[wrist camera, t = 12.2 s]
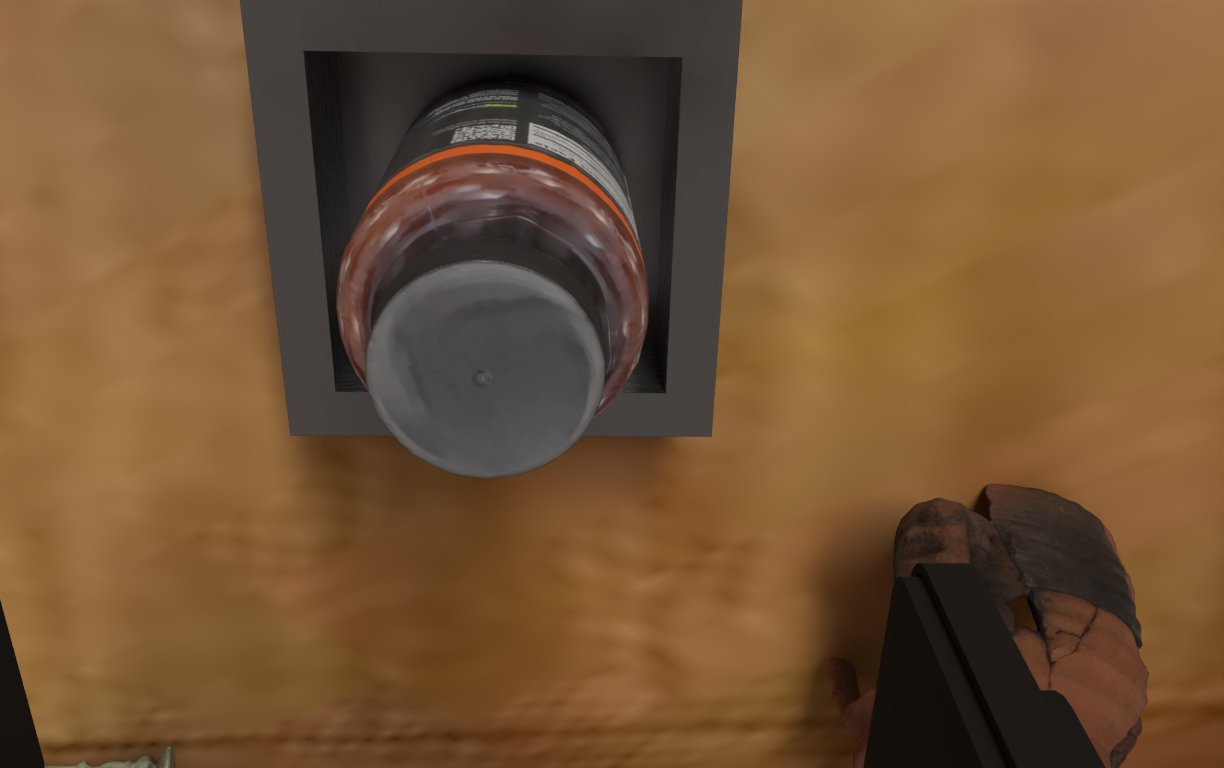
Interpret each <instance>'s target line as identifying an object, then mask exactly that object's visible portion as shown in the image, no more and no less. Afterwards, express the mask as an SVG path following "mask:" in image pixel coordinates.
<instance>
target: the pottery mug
mask: <svg viewBox="0 0 1224 768" xmlns="http://www.w3.org/2000/svg"><path fill="white" fill-rule="evenodd" d="M984 497H985V501H986V503H987V505H988V512H987V514H988V520H987V519H986V518H984V517H983V516H981V515H980V514H977V513H975V512H973V511H970V510H967V508H966V507H965V506H964V505H963V504H961V503H958V502H953V501H949V500H946V499H942V498H935V499H932V500H930V501H926V502H922V503H918V504H916V505H915V506H913V508H912V509H911V510H910V511H909V512H908V513H907V514H906V515H905V516H904V517H903V518H902V519H901V521H900V523H899V526H898V528H897V531H896V536H895V541H894V562H893V567H894V581H895V580H896V578H897V577H899V576H909V577H910V576H911V572H912V570H913V568H914V566H915V565H916V564H917V563H970V564H972V565H973V566H974V567H975V568H976V570H977V571H978V573H979V575H980V577H981V579H982V580H983V582H984V584H985V586H986V588H987V590H988V592H989V594H990V596H991V597H992V599H993V601H994V603H995V605H996V607H997V609H998V611H999V612H1000V614H1001V616H1002V618H1003V620H1004V622H1005V624H1006V626H1007V628H1008V629H1009V631H1010V633H1011V635H1012V637H1013V639H1014V641H1015V643H1016V645H1017V646H1018V648H1019V650H1020V652H1021V654H1022V656H1023V658H1024V660H1025V662H1026V663H1027V665H1028V667H1029V669H1030V671H1031V673H1032V675H1033V677H1034V679H1035V680H1036V682H1037V684H1038V686H1039V688H1040V690H1055V691H1057V692H1059V693H1060V694H1062V695H1064V697H1065V698H1066V700H1067V701H1068V702H1069V704H1070V705H1071V706H1072V708H1073V710H1074V712H1075V713H1076V715H1077V717H1078V719H1079V721H1080V722H1081V724H1082V726H1083V728H1084V730H1085V731H1086V733H1087V735H1088V737H1089V739H1090V740H1091V742H1092V744H1093V746H1094V748H1095V749H1096V751H1097V753H1098V755H1099V757H1100V758H1101V760H1102V762H1103V764H1104V766H1105V767H1106V768H1118V767H1119V766H1120V765H1121V764H1122V762H1123V761H1124V760H1125V759H1126V757H1127V755H1128V754H1129V752H1130V751H1131V750H1132V749H1133V747H1134V745H1135V743H1136V740H1137V737H1138V736H1139V735H1140V733H1141V730H1142V724H1141V719H1140V717H1139V716H1140V713H1141V711H1142V710H1143V708H1144V707H1145V706H1146V704H1147V702H1148V700H1147V694H1146V687H1147V681H1148V676H1149V673H1148V671H1147V668H1146V666H1145V665H1144V663H1143V661H1142V659H1141V657H1140V653H1139V648H1141V647H1142V641H1141V626H1140V623H1139V621H1138V620H1137V618H1136V612H1135V611H1136V608H1135V603H1134V602H1135V591H1134V588H1133V585H1132V582H1131V579H1130V576H1129V575H1128V574H1127V572H1126V570H1125V568H1124V566H1123V564H1122V562H1121V560H1120V558H1119V555H1118V553H1117V549H1116V545H1115V542H1114V539H1113V537H1112V535H1111V534H1110V532H1109V531H1108V529H1107V528H1106V527H1105V526H1104V525H1103V524H1102V522H1101V521H1100V520H1099V519H1098V518H1097V517H1096V516H1094V515H1093V514H1092V513H1090V512H1088V511H1087V510H1085V509H1084V508H1083V507H1082V506H1080V505H1079V504H1077V503H1075V502H1072V501H1069V500H1067V499H1064V498H1062V497H1060V496H1058V495H1056V494H1054V493H1050V492H1046V491H1044V490H1041V489H1035V488H1024V487H1020V486H1012V485H1000V484H998V485H995V484H990V485H988V486H986V487H985V490H984ZM1021 597H1025V598H1026V599H1027V601H1028V605H1029V607H1030V609H1031V611H1032V614H1033V618H1034V620H1035V622H1036V625H1037V631H1032V630H1031V629H1028V628H1025V627H1016V628H1015V627H1014V616H1013V613H1012V611H1011V610H1010V608H1009V607H1008V606H1007V605H1009V604H1011V603H1012V602H1014V601H1015V600H1018V599H1020V598H1021ZM829 662H830V672H829V680H830V682H831V684H832V697H833V699H834V702H835V703H836V704H837V707H838V709H839V712H840V715H841V716H842V718H843V720H844V722H845V724H846V726H847V728H848V730H849V731H850V732H851V733H852V734H853V735H854V736H855V737H856V739H857V747H856V749H855V752H854V755H853V765H854V766H855V767H856V768H863V767H864V759H865V753H866V747H867V741H868V735H869V729H870V723H871V717H872V711H873V705H874V699H875V693H876V687H877V685H875V686H874V687H872V688H870V689H868V690H866V691H865V692H864V693H863V694H862V696H861V697H860V693H859V687H858V682H857V676H856V672H855V670H854V668H853V667H852V665H850V664H848V663H847V662H846V661H844V660H842V659H840V658H838V657H831V658H830V661H829Z"/></svg>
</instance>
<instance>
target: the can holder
mask: <svg viewBox="0 0 1224 768" xmlns="http://www.w3.org/2000/svg"><path fill="white" fill-rule="evenodd" d="M742 1H743V0H240V6H241V15H242V23H243V32H244V41H245V49H246V58H247V66H248V75H249V84H250V92H251V101H252V110H253V118H254V127H255V135H256V144H257V153H258V161H259V170H260V178H261V187H262V196H263V204H264V213H265V222H266V230H267V239H268V247H269V256H270V265H271V273H272V282H273V291H274V299H275V308H276V316H277V325H278V334H279V342H280V351H281V359H282V368H283V377H284V385H285V394H286V403H287V411H288V420H289V428H290V436H392V435H391V433H390V432H389V431H388V430H387V429H386V427H385V426H384V424H383V423H382V421H381V419H380V418H379V417H378V415H377V413H376V410H375V408H374V406H373V404H372V402H371V399H370V396H369V393H368V390H367V389H366V387H365V385H364V384H363V383H362V381H361V380H360V378H359V377H358V376H357V374H356V372H355V370H354V368H353V366H352V364H351V362H350V360H349V357H348V355H347V353H346V350H345V347H344V344H343V342H342V339H341V335H340V329H339V324H338V317H337V310H336V297H337V283H338V276H339V270H340V265H341V262H342V259H343V255H344V252H345V249H346V246H347V244H348V243H349V241H350V239H351V236H352V234H353V232H354V231H355V229H356V227H357V225H358V222H359V221H360V219H361V217H362V215H363V213H364V211H365V210H366V207H367V206H368V204H369V202H370V200H371V198H372V196H373V194H374V192H375V190H376V188H377V187H378V185H379V183H380V181H381V179H382V177H383V175H384V173H385V171H386V170H387V168H388V166H389V163H390V161H391V160H392V158H393V156H394V154H395V152H396V150H397V149H398V146H399V145H400V143H401V141H402V139H403V137H404V136H405V134H406V132H407V130H408V129H409V127H410V126H411V124H412V123H413V121H414V120H415V119H416V118H417V117H418V116H419V115H420V114H421V113H422V112H423V111H424V110H425V109H426V108H427V107H428V106H429V105H430V104H431V103H432V102H434V101H435V100H436V99H437V98H439V97H440V96H441V95H443V94H445V93H447V92H449V91H451V90H453V89H455V88H457V87H459V86H461V85H465V84H468V83H471V82H474V81H477V80H482V79H489V78H501V77H510V78H522V79H527V80H533V81H539V82H542V83H545V84H547V85H549V86H552V87H554V88H557V89H559V90H560V91H562V92H564V93H566V94H568V95H569V96H570V97H572V98H573V99H575V100H576V101H578V102H579V103H581V104H582V105H583V106H584V107H585V108H587V109H588V110H589V111H590V112H591V113H592V114H593V116H594V117H595V118H596V119H597V120H598V121H599V122H600V124H601V125H602V127H603V128H604V129H605V131H606V132H607V133H608V135H609V137H610V138H611V140H612V142H613V144H614V146H615V148H616V150H617V152H618V155H619V159H620V161H621V164H622V167H623V171H624V176H625V178H626V183H627V188H628V193H629V197H630V202H631V207H632V211H633V216H634V220H635V225H636V229H637V234H638V239H639V243H640V248H641V252H642V255H643V262H644V268H645V273H646V279H647V286H648V325H647V331H646V335H645V340H644V343H643V346H642V350H641V354H640V357H639V360H638V363H637V365H636V367H635V369H634V371H633V373H632V376H631V378H630V379H629V380H628V381H627V383H626V385H625V387H624V389H623V390H622V391H621V393H620V394H619V395H618V396H617V397H616V398H615V400H614V401H613V402H612V403H611V405H610V406H609V407H607V408H606V409H605V410H604V411H603V412H602V413H601V414H600V415H598V416H597V417H596V418H595V419H594V420H592V421H591V423H590V425H589V426H588V428H587V430H586V431H585V432H584V434H583V435H582V436H644V437H712V424H713V410H714V395H715V381H716V367H717V353H718V339H719V325H720V311H721V297H722V283H723V269H724V255H725V240H726V226H727V212H728V198H729V184H730V170H731V156H732V142H733V128H734V114H735V100H736V85H737V71H738V57H739V43H740V29H741V15H742Z"/></svg>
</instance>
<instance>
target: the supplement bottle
mask: <svg viewBox="0 0 1224 768" xmlns="http://www.w3.org/2000/svg"><path fill="white" fill-rule="evenodd" d="M336 310H337V317H338V324H339V329H340V335H341V339H342V342H343V344H344V347H345V350H346V353H347V355H348V357H349V360H350V362H351V364H352V366H353V368H354V370H355V372H356V374H357V376H358V377H359V378H360V380H361V381H362V383H363V384H364V385H365V387H366V389H367V390H368V393H369V396H370V399H371V402H372V404H373V406H374V408H375V410H376V413H377V415H378V417H379V418H380V419H381V421H382V423H383V424H384V426H385V427H386V429H387V430H388V431H389V432H390V433H391V435H392V436H393V437H394V438H395V439H396V440H397V441H398V442H399V443H400V445H402V446H403V447H405V448H406V449H407V450H408V451H409V452H410V453H412V454H413V455H415V456H416V457H418V458H420V459H421V460H423V461H425V462H426V463H428V464H430V465H432V466H434V467H436V468H440V469H443V470H445V471H447V472H450V473H452V474H455V475H461V476H466V477H479V478H492V479H493V478H499V477H508V476H514V475H519V474H523V473H526V472H529V471H532V470H535V469H538V468H540V467H542V466H544V465H546V464H548V463H550V462H551V461H553V460H554V459H556V458H557V457H559V456H560V455H562V454H563V453H564V452H566V451H567V450H568V449H569V448H571V447H572V446H573V445H574V444H575V443H576V442H577V441H578V440H579V438H580V437H581V436H582V435H583V434H584V432H585V431H586V430H587V428H588V426H589V425H590V423H591V421H592V420H594V419H595V418H596V417H597V416H598V415H600V414H601V413H602V412H603V411H604V410H605V409H606V408H607V407H609V406H610V405H611V403H612V402H613V401H614V400H615V398H616V397H617V396H618V395H619V394H620V393H621V391H622V390H623V389H624V387H625V385H626V383H627V381H628V380H629V379H630V378H631V376H632V373H633V371H634V369H635V367H636V365H637V363H638V360H639V357H640V354H641V350H642V346H643V343H644V340H645V335H646V331H647V325H648V286H647V279H646V273H645V268H644V262H643V255H642V252H641V248H640V243H639V239H638V234H637V229H636V225H635V220H634V216H633V211H632V207H631V202H630V197H629V193H628V188H627V183H626V178H625V176H624V171H623V167H622V164H621V161H620V159H619V155H618V152H617V150H616V148H615V146H614V144H613V142H612V140H611V138H610V137H609V135H608V133H607V132H606V131H605V129H604V128H603V127H602V125H601V124H600V122H599V121H598V120H597V119H596V118H595V117H594V116H593V114H592V113H591V112H590V111H589V110H588V109H587V108H585V107H584V106H583V105H582V104H581V103H579V102H578V101H576V100H575V99H573V98H572V97H570V96H569V95H568V94H566V93H564V92H562V91H560V90H559V89H557V88H554V87H552V86H549V85H547V84H545V83H542V82H539V81H533V80H527V79H522V78H510V77H501V78H489V79H482V80H477V81H474V82H471V83H468V84H465V85H461V86H459V87H457V88H455V89H453V90H451V91H449V92H447V93H445V94H443V95H441V96H440V97H439V98H437V99H436V100H435V101H434V102H432V103H431V104H430V105H429V106H428V107H427V108H426V109H425V110H424V111H423V112H422V113H421V114H420V115H419V116H418V117H417V118H416V119H415V120H414V121H413V123H412V124H411V126H410V127H409V129H408V130H407V132H406V134H405V136H404V137H403V139H402V141H401V143H400V145H399V146H398V149H397V150H396V152H395V154H394V156H393V158H392V160H391V161H390V163H389V166H388V168H387V170H386V171H385V173H384V175H383V177H382V179H381V181H380V183H379V185H378V187H377V188H376V190H375V192H374V194H373V196H372V198H371V200H370V202H369V204H368V206H367V207H366V210H365V211H364V213H363V215H362V217H361V219H360V221H359V222H358V225H357V227H356V229H355V231H354V232H353V234H352V236H351V239H350V241H349V243H348V244H347V246H346V249H345V252H344V255H343V259H342V262H341V265H340V270H339V276H338V283H337V297H336Z"/></svg>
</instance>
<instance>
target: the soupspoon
mask: <svg viewBox="0 0 1224 768" xmlns="http://www.w3.org/2000/svg"><path fill="white" fill-rule="evenodd" d="M174 762H175V756H174V751H173V748H172V747H171V746H168V747H167V748H166V750H165V751H164V753H163V755H162V756H161V758H160V759H159V760H158V761H154V760H153V759H152V757H151V756H149V755H144V756H142V757H141V758H139V759H138V760H137V761H135V762H133V761H132V760H128V761H127V762H122V761H111V762H107V763H105V764H103V765H100V766H97V767H92V766H90V765H89V764H88V763H87V762H86V761H82V762H80V763H79V764H78V765H72V766H56V765H45V768H174Z"/></svg>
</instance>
